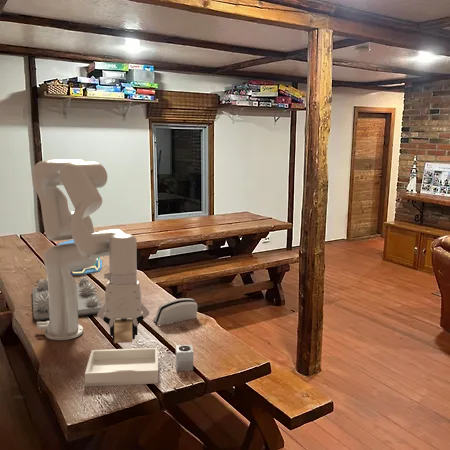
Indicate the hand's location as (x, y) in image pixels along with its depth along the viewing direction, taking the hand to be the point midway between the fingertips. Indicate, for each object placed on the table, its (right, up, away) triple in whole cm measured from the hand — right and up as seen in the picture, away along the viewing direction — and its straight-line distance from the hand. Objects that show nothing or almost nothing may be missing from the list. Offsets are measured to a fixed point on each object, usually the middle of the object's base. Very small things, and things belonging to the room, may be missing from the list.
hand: (123, 337), depth 132 cm
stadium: (-48, +11, +109) cm, 119 cm away
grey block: (+17, -11, +7) cm, 21 cm away
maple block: (0, -1, 0) cm, 1 cm away
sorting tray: (-1, -11, +2) cm, 11 cm away
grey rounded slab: (+11, -4, +41) cm, 43 cm away
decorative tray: (-37, 0, +55) cm, 66 cm away
